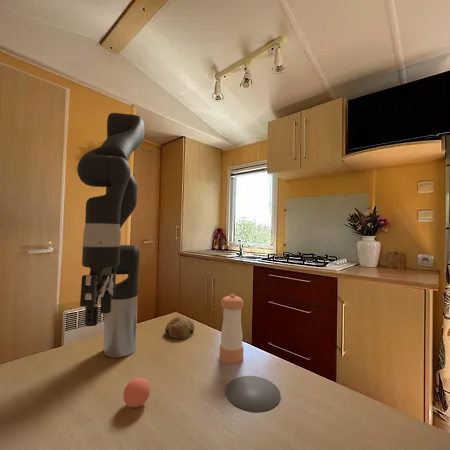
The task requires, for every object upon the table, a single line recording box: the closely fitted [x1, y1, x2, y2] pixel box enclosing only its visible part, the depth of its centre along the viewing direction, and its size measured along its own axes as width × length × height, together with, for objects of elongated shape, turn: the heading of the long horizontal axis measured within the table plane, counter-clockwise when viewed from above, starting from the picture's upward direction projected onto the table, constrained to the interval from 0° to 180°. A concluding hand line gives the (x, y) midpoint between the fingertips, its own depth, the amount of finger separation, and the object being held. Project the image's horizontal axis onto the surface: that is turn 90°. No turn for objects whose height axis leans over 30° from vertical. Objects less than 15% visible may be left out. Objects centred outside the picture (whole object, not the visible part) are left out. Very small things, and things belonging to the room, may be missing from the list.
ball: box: [123, 377, 151, 409], centre depth 55 cm, size 6×6×6 cm
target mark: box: [225, 375, 281, 413], centre depth 60 cm, size 13×13×1 cm
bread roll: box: [164, 315, 195, 339], centre depth 93 cm, size 10×10×8 cm
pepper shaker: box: [219, 293, 245, 364], centre depth 77 cm, size 7×7×19 cm
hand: (99, 318), depth 55 cm, fingers open, 8 cm apart
